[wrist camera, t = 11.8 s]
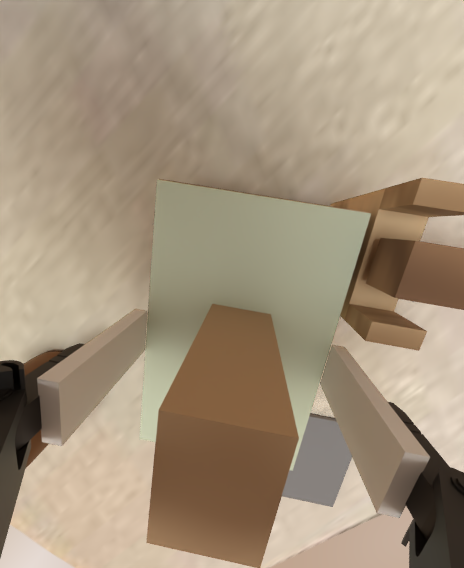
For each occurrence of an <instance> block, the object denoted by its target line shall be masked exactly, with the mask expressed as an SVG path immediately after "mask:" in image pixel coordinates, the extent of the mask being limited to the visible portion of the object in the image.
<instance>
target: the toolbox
mask: <svg viewBox="0 0 464 568" xmlns="http://www.w3.org/2000/svg"><path fill="white" fill-rule="evenodd" d="M159 180H162V179H159ZM163 181H169V180H163ZM170 182H175V181H170ZM176 183H181V182H176ZM182 184H187V183H182ZM189 185H194V184H189ZM195 186H200V185H195ZM201 187H206V186H201ZM207 188H213V187H207ZM214 189H219V188H214ZM220 190H225V189H220ZM226 191H231V190H226ZM233 192H238V191H233ZM239 193H244V192H239ZM245 194H250V193H245ZM251 195H257V194H251ZM258 196H263V195H258ZM264 197H269V196H264ZM270 198H275V197H270ZM276 199H282V198H276ZM283 200H288V199H283ZM289 201H294V200H289ZM295 202H301V201H295ZM302 203H307V202H302ZM308 204H313V203H308ZM314 205H319V204H314ZM320 206H326V205H320ZM327 207H333V208H339V209H346V210H352V211H358V212H364V213H371V216H370V219H369V223H368V226H367V229H366V232H365V236H364V239H363V242H362V245H361V249H360V252H359V255H358V259H357V262H356V265H355V268H354V272H353V275H352V278H351V281H350V285H349V288H348V291H347V295H346V298H345V301H344V304H343V308H342V311H341V314H340V316H341V317H342V318H343V319H344V320H345V321H346V322H347V323H348V324H349V325H350V326H351V327H352V328H353V329H354V330H355V331H356V332H357V333H358V334H359V335H360V336H361V337H362V338H363V339H364V340H365V341H370V342H375V343H381V344H386V345H392V346H397V347H403V348H408V349H414V350H419V349H420V347H421V345H422V342H423V340H424V337H425V335H426V333H427V331H426V330H424V329H422V328H421V327H419V326H417V325H416V324H414V323H412V322H411V321H409V320H407V319H405V318H404V317H402V316H400V315H399V314H397V313H395V312H394V309H395V307H396V304H397V301H398V298H394V297H392V296H390V295H388V294H386V293H384V292H382V291H380V290H378V289H376V288H374V287H372V286H370V285H368V284H366V281H367V278H368V275H369V272H370V268H371V265H372V262H373V259H374V256H375V253H376V250H377V247H378V244H379V241H380V238H389V239H400V240H412V241H420V239H421V237H422V234H423V231H424V228H425V226H426V223H427V220H428V218H429V217H437V216H455V215H464V184H460V183H453V182H447V181H440V180H433V179H427V178H420V179H416V180H413V181H409V182H406V183H402V184H399V185H395V186H392V187H388V188H385V189H381V190H378V191H374V192H371V193H367V194H364V195H360V196H357V197H353V198H350V199H346V200H343V201H339V202H336V203H333V204H331V205H330V206H327Z"/></svg>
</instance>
